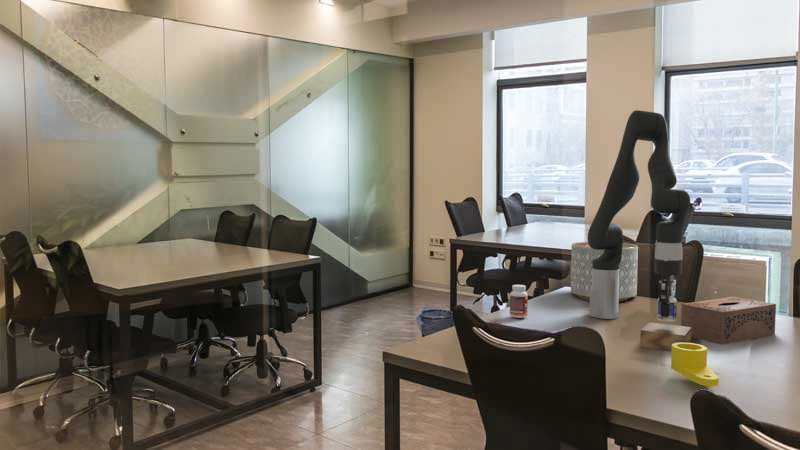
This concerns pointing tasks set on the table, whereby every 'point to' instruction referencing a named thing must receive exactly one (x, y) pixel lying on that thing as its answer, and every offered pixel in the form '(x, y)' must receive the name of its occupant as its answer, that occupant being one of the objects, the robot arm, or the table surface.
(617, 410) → the table surface
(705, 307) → the tissue box cover
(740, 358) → the table surface
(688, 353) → the crank
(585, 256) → the planter
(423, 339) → the table surface
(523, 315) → the pill bottle
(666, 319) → the pill bottle
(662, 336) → the walnut block
